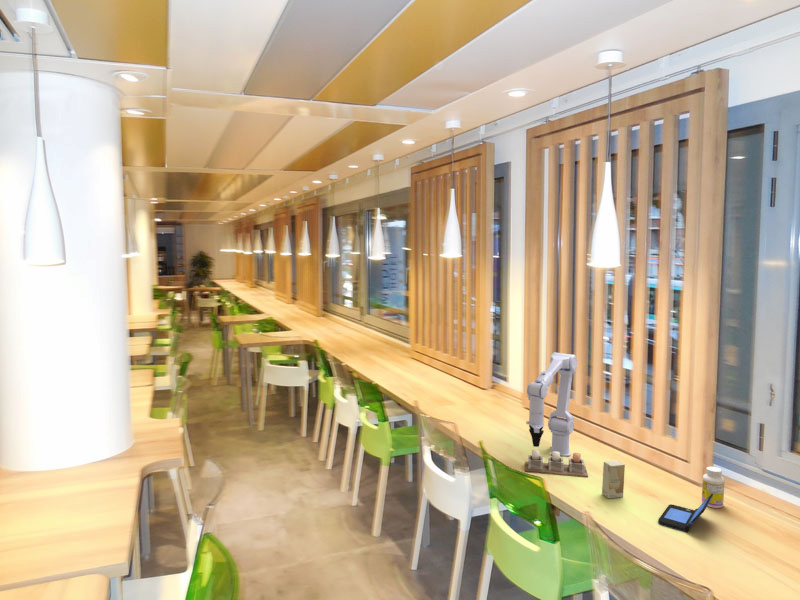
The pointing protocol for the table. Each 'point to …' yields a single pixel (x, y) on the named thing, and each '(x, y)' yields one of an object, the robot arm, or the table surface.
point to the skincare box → (613, 479)
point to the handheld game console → (682, 516)
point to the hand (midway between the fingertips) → (535, 444)
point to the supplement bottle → (713, 487)
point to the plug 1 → (535, 454)
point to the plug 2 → (556, 456)
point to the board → (556, 467)
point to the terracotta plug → (576, 457)
